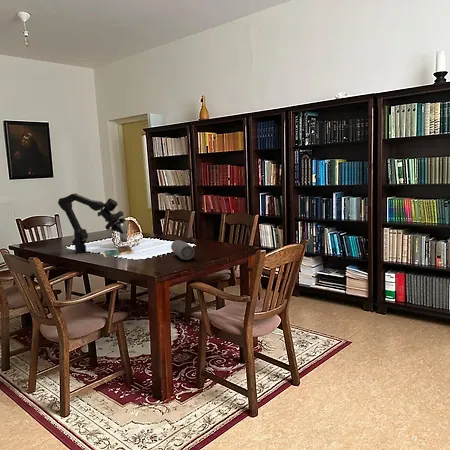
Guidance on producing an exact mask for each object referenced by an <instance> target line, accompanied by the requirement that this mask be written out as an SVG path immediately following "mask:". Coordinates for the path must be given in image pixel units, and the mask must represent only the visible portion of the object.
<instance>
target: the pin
mask: <svg viewBox="0 0 450 450" xmlns="http://www.w3.org/2000/svg"><path fill="white" fill-rule="evenodd" d="M126 225H127V224H126V222H124V223H119V227H120V229H121V230H122V231H123V232H124V233H123V234H122V233H119V232H118V233H119V242H120V243H123V242H127V235H126V229H127V226H126Z"/></svg>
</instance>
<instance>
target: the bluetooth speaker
mask: <svg viewBox="0 0 450 450" xmlns="http://www.w3.org/2000/svg"><path fill="white" fill-rule="evenodd" d="M170 247H171V248H170V249H171V250H172V252H173V253H174V254H175V255H176V256H177V257H179V259H180V260H182V261H184V260H185V261H187V260H190V259H192V258H193V257H194V255H195V249H194V248H193V246H191V244H189V243H187V242H185V241H183V240H181V239H176V240H174V241H173V242H172V243H171V246H170Z"/></svg>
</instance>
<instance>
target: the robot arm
mask: <svg viewBox="0 0 450 450" xmlns="http://www.w3.org/2000/svg"><path fill="white" fill-rule="evenodd" d="M75 201H76V202H77V203H80V204H83V205H85V206H88V207H89V208H90V209H91V210H93V211H95V212H96V211H97V217H102V218H103V219H104V221H105V222H106V223H107V224H106V225H105V226H104V228H105V230H107V231H113V232H116V233H122V234H123V233H124V232H123V231H122V230H121V229H120V227H119V223H126V221H127V219H126V218H125V217H124V211H121V210H118V211H117V212H116V213H112V212H113V211H114V210H115V209H116V207H118V205H119V204H118V203H119V202H117V201H116V200H114V199H112V198H108V199H107V200H106V202H105V203H104V202H103V201H101V200H100V201H99V200H94V199H89V198H88V197H85V196H82V195H80V194H78V193H77V192H76V193H70V195H67V196H65V197H60V198H59V199H58V201H57V203H58V206H59V207H60V209H62V210H63V212H65V214H66V216H67V218H68V221H69V223H70V226H71V227H72V229H73V231H74V232H73V235H74V239H73V240H72V241H71V243H72V245H74V250H75V251H74V252H75V254H83V253H84V254H85V253H86V252H87V246H86V243H87V240H88V239H89V233H88V232H87V230H86V229H85V228H82V226H81V224H80V222H79V220H78V218H77V216H76V214H75V212H74V209H73V202H75ZM126 232H127V230H126Z"/></svg>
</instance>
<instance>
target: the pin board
mask: <svg viewBox="0 0 450 450" xmlns="http://www.w3.org/2000/svg"><path fill="white" fill-rule="evenodd" d="M101 253H102V255H103V257H104V258H108V257H109V258H110V257H117V256H125V255H133V254H136V252H135V251H134V250H133V249H132V247H131V245H126V246H123V245H122V246H117V248H116V249H108V250H105V251H101Z"/></svg>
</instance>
